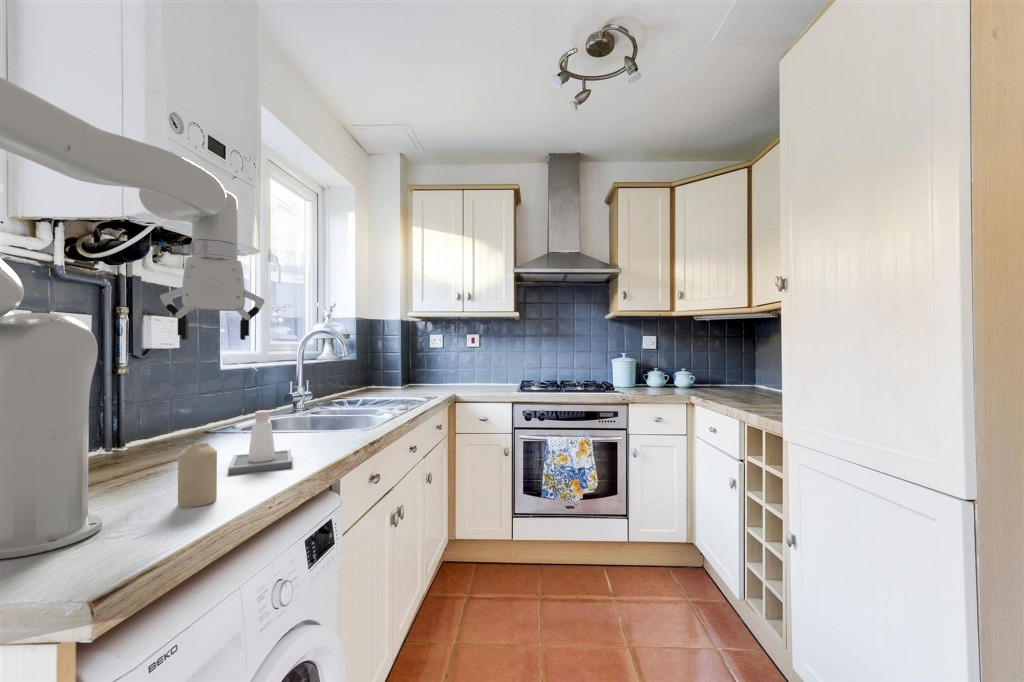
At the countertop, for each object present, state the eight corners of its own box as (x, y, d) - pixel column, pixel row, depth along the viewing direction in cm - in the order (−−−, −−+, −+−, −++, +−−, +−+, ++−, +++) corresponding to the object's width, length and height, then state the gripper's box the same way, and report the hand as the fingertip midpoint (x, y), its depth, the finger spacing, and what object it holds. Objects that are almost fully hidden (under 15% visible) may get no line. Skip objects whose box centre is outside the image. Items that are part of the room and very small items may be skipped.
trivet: (228, 474, 94) (228, 467, 94) (233, 461, 105) (233, 455, 105) (292, 467, 100) (292, 460, 100) (290, 455, 110) (290, 449, 110)
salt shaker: (242, 462, 100) (242, 412, 100) (259, 456, 105) (259, 408, 105) (264, 463, 99) (264, 412, 99) (280, 456, 104) (280, 409, 105)
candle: (196, 509, 74) (197, 448, 75) (169, 507, 76) (169, 447, 76) (224, 498, 80) (224, 441, 80) (198, 496, 81) (198, 440, 81)
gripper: (156, 245, 82) (155, 339, 82) (264, 254, 90) (263, 339, 90) (165, 252, 89) (164, 339, 88) (265, 260, 97) (265, 340, 96)
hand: (214, 339), depth 89 cm, fingers open, 9 cm apart
